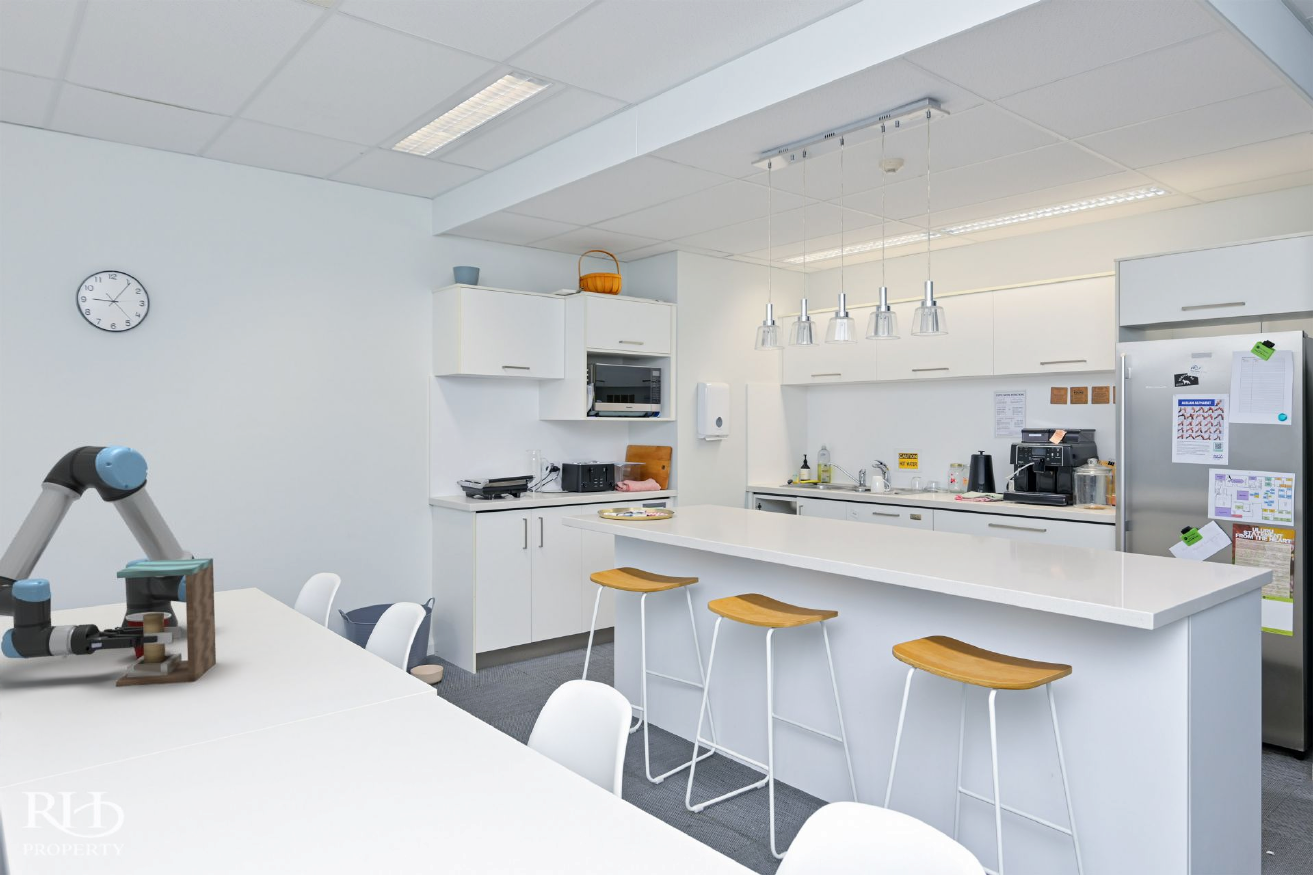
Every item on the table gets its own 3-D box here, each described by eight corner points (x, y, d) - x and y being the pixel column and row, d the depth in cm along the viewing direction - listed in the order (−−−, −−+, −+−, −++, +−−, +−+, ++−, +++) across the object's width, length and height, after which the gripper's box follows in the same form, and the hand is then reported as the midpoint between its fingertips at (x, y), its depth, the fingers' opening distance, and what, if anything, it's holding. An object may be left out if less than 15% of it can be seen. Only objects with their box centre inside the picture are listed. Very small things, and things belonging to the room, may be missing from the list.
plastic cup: (178, 656, 224) (177, 613, 224) (133, 666, 216) (132, 621, 216) (165, 649, 232) (164, 607, 231) (121, 657, 224) (120, 614, 223)
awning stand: (142, 667, 215) (139, 561, 214) (215, 662, 218) (212, 558, 217) (116, 686, 200) (112, 572, 199) (194, 681, 204) (191, 568, 203)
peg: (148, 662, 210) (147, 612, 210) (168, 661, 211) (166, 612, 211) (141, 667, 206) (139, 617, 205) (160, 666, 207) (159, 616, 206)
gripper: (94, 644, 214) (190, 639, 218) (57, 665, 196) (163, 659, 201) (93, 616, 214) (189, 611, 218) (57, 634, 196) (162, 629, 201)
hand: (176, 634), depth 209 cm, fingers closed on peg, 4 cm apart
